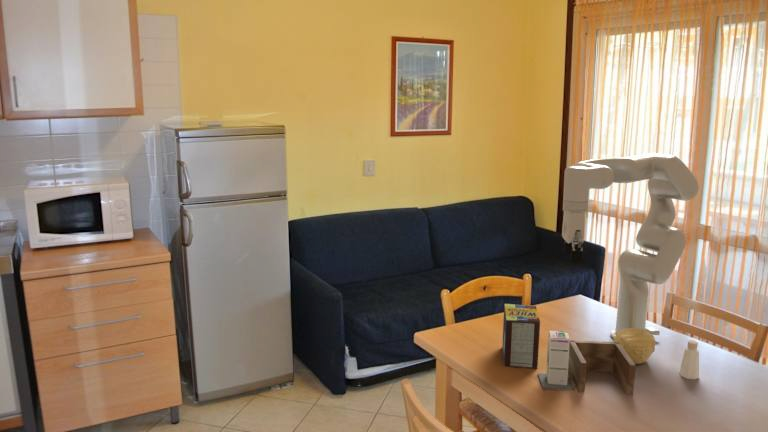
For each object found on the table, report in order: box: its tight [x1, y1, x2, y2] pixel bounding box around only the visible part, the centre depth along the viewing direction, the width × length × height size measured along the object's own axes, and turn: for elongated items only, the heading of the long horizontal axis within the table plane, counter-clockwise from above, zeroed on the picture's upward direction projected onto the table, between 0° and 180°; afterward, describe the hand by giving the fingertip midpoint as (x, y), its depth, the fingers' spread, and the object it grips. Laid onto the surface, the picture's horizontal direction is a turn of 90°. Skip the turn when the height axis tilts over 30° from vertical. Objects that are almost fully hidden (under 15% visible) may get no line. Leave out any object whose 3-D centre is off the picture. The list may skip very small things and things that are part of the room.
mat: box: [537, 372, 576, 391], centre depth 182 cm, size 9×9×1 cm
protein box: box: [501, 303, 541, 369], centre depth 198 cm, size 10×15×16 cm
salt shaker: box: [678, 339, 700, 380], centre depth 187 cm, size 5×5×11 cm
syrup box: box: [545, 330, 571, 385], centre depth 181 cm, size 6×6×14 cm
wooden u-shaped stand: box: [568, 339, 637, 396], centre depth 183 cm, size 15×16×9 cm
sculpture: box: [612, 328, 657, 365], centre depth 198 cm, size 11×12×11 cm
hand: (572, 258), depth 196 cm, fingers open, 9 cm apart
